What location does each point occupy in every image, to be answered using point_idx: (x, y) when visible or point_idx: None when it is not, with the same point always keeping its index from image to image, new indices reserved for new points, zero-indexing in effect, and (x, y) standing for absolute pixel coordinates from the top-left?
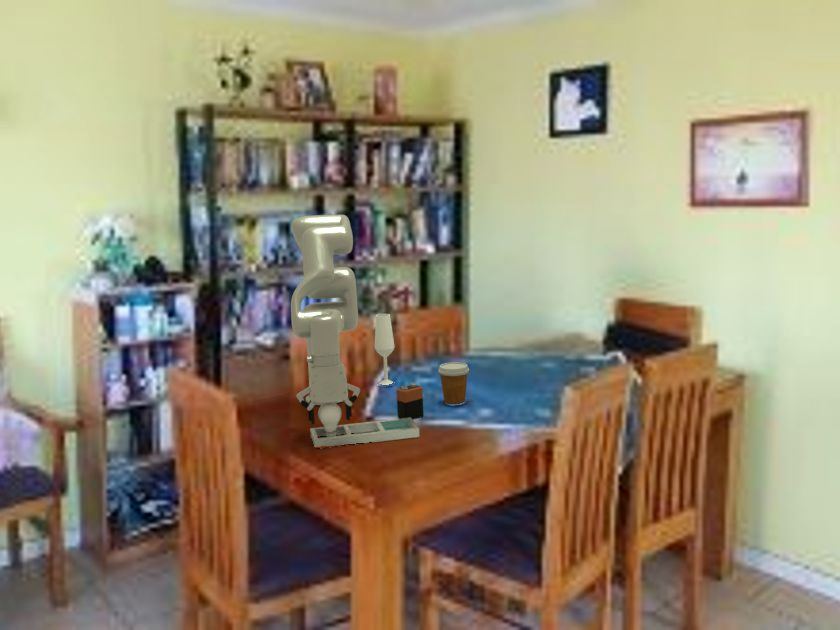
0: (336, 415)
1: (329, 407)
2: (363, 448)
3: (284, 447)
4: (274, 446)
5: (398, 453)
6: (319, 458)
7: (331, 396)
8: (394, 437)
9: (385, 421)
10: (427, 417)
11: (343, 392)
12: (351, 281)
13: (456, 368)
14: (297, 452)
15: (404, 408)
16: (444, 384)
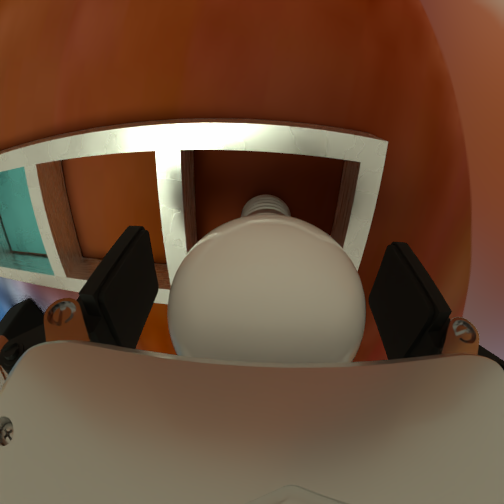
0: (219, 236)
1: (284, 322)
2: (134, 58)
3: (452, 218)
4: (467, 243)
5: (41, 3)
6: (369, 8)
7: (253, 462)
8: (20, 145)
9: (41, 273)
10: (3, 297)
11: (15, 442)
12: None
13: None
14: (438, 135)
15: (14, 324)
16: None
